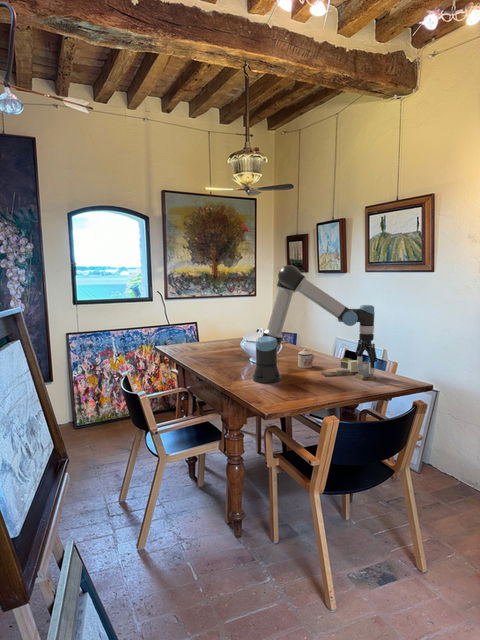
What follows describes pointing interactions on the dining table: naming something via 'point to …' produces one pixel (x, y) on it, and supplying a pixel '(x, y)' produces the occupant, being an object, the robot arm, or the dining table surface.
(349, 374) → the rail
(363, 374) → the grey hollow square block
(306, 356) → the teacup with lid
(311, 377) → the dining table surface
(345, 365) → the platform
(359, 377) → the square plate with peg
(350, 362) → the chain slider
